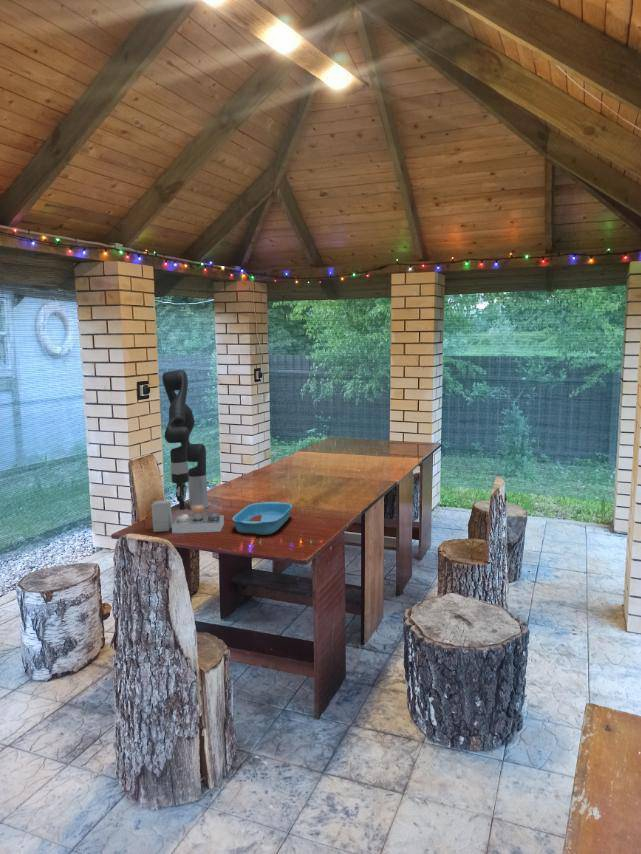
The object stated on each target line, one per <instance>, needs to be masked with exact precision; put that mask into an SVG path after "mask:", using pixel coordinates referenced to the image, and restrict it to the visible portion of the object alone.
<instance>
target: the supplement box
mask: <svg viewBox="0 0 641 854" xmlns="http://www.w3.org/2000/svg"><path fill="white" fill-rule="evenodd" d="M171 503H172V501H171V499H167V500H154V501H153V502H152V504H151V505H150V507H151V517H152V519H151V520H152V528H153V529H152V530H153V532H154V533H155V532H156V533H157V532H169V531H170V530H171V529H172V523H173V514H172V504H171Z"/></svg>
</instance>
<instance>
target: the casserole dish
mask: <svg viewBox="0 0 641 854" xmlns="http://www.w3.org/2000/svg"><path fill="white" fill-rule="evenodd" d="M292 508H293V504H292V503H287V502H286V503H285V502H280V501H266V502H265V501H264V502H255V503H250V504H249V505H247V506H245V507H244V508H243V509H241V510H240V511H239V512H238V513H236V514H235V515H234V516H233V517H232V522H233V525H234V528H235V529H236V531H237V532H238V533H243V534H256V536H257V535H261V536H263V535H264V536H265V535H272V534H274V533H276V532H277V531H279V529H280V528H281V527H283V525H284V524H285V523H286V522H287V521H288V519H289V517H290V516H291V512H292ZM257 516H261V517H260V521H253V520H251V519H252V518H254V517H257ZM250 520H251V521H250Z"/></svg>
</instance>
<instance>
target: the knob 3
mask: <svg viewBox="0 0 641 854" xmlns="http://www.w3.org/2000/svg"><path fill="white" fill-rule="evenodd" d="M220 515H221V514H220V512H211V513H208V514H207V516H208V520H218V519H220Z"/></svg>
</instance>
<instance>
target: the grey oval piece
mask: <svg viewBox="0 0 641 854" xmlns="http://www.w3.org/2000/svg"><path fill="white" fill-rule="evenodd" d="M188 516H189V514H188V513H181V514H177V515H175V517H176V518H175V520H176V519H177V521H178V522H184V521H187V520H188Z"/></svg>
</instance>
